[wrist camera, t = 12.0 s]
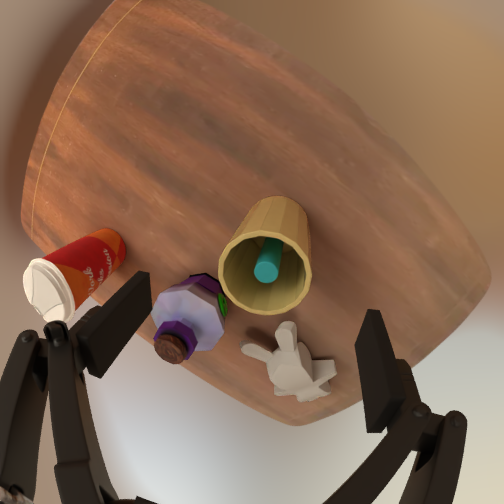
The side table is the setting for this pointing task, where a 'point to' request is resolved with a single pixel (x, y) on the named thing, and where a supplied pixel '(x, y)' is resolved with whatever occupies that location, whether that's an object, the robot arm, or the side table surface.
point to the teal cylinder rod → (269, 260)
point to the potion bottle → (189, 317)
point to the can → (248, 250)
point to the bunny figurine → (293, 365)
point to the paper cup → (72, 274)
